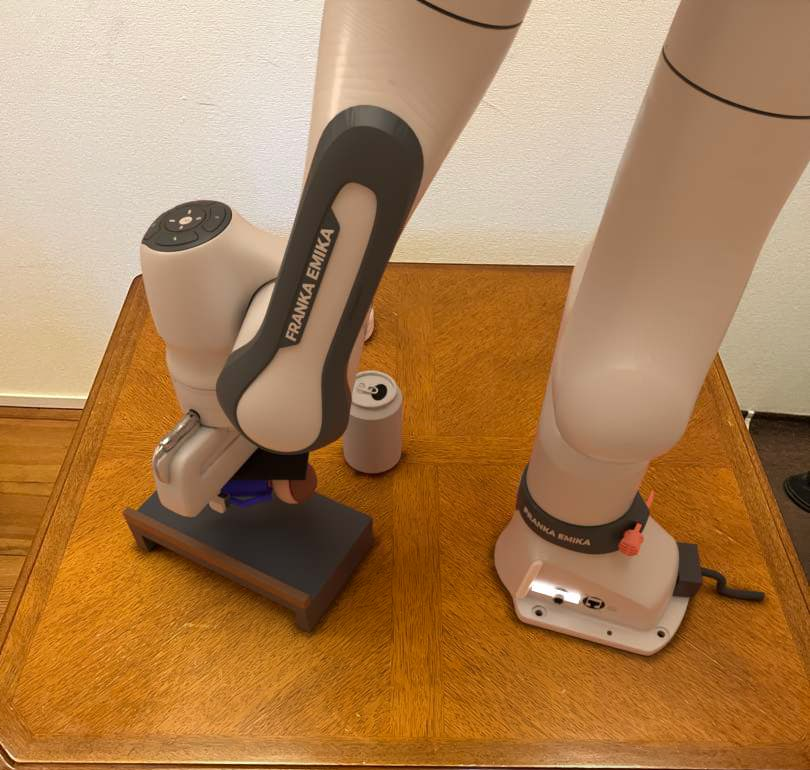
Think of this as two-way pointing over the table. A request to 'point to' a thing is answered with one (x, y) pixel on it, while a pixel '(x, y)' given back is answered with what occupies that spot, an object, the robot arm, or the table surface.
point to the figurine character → (272, 479)
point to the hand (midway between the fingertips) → (245, 478)
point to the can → (374, 423)
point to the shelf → (266, 546)
